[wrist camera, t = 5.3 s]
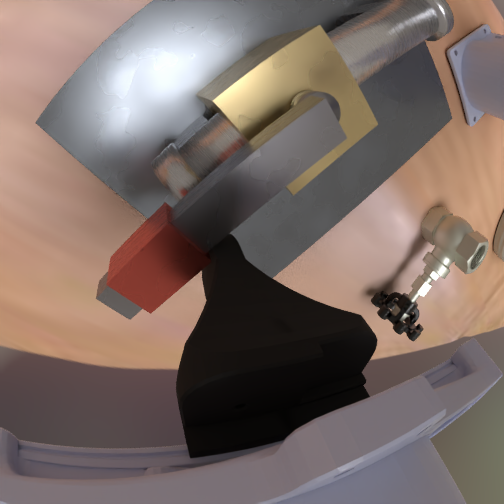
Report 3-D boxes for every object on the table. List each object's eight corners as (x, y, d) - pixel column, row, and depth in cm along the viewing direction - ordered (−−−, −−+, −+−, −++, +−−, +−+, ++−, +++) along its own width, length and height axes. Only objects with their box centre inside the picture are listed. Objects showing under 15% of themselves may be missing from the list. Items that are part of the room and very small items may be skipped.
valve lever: (311, 77, 9) (345, 81, 7) (336, 119, 10) (371, 132, 8) (97, 264, 11) (90, 301, 9) (134, 290, 12) (134, 328, 10)
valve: (429, 190, 23) (359, 292, 27) (482, 226, 17) (398, 340, 22) (452, 216, 26) (392, 302, 30) (495, 249, 21) (425, 342, 25)
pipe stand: (334, -80, 8) (392, -107, 3) (443, 115, 18) (500, 137, 14) (42, 119, 11) (-11, 146, 6) (245, 288, 22) (272, 349, 17)
